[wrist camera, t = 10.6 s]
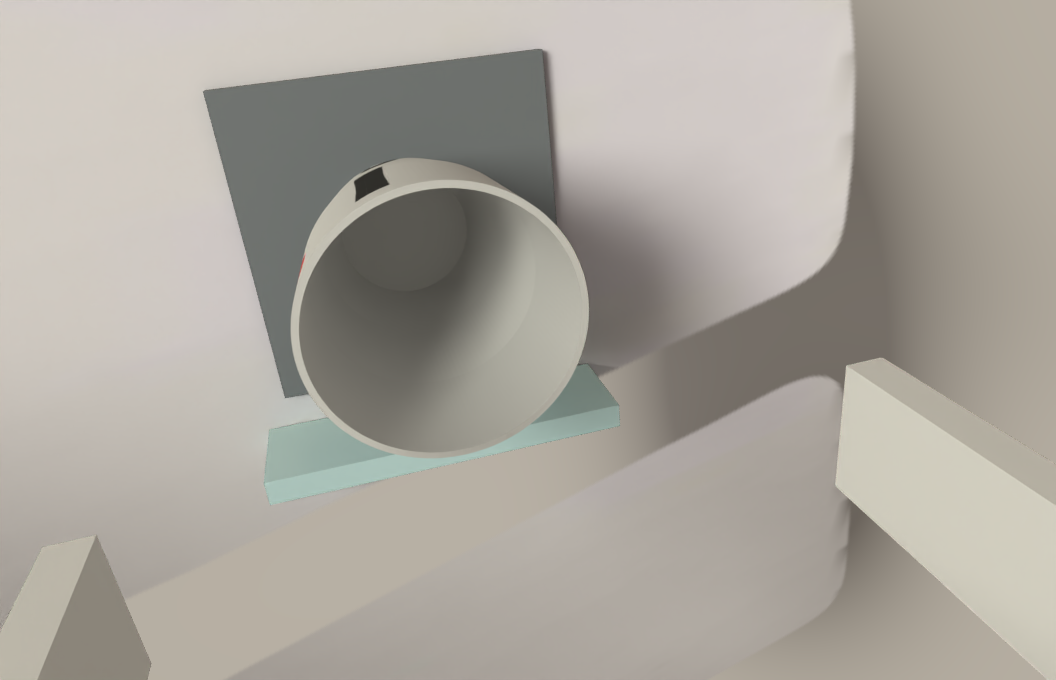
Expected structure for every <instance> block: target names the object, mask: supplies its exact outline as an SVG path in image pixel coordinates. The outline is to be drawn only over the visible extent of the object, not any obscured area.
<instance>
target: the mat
mask: <svg viewBox="0 0 1056 680" xmlns="http://www.w3.org/2000/svg"><path fill="white" fill-rule="evenodd" d="M203 93H204V97H205V101H206V104H207V108H208V112H209V116H210V119H211V123H212V127H213V131H214V134H215V138H216V142H217V145H218V149H219V153H220V157H221V160H222V164H223V168H224V172H225V175H226V179H227V183H228V187H229V190H230V194H231V198H232V201H233V205H234V209H235V213H236V216H237V220H238V224H239V228H240V231H241V235H242V239H243V242H244V246H245V250H246V254H247V257H248V261H249V265H250V269H251V272H252V276H253V280H254V284H255V287H256V291H257V295H258V298H259V302H260V306H261V310H262V313H263V317H264V321H265V325H266V328H267V332H268V336H269V340H270V343H271V347H272V351H273V354H274V358H275V362H276V366H277V369H278V373H279V377H280V381H281V384H282V388H283V392H284V396H285V398H289V397H293V396H298V395H303V394H308V391H307V389H306V387H305V385H304V383H303V381H302V379H301V377H300V375H299V372H298V369H297V366H296V363H295V359H294V355H293V350H292V343H291V313H292V306H293V300H294V296H295V291H296V287H297V283H298V278H299V274H300V269H301V265H302V261H303V256H304V252H305V248H306V245H307V242H308V239H309V236H310V234H311V232H312V229H313V227H314V226H315V224H316V222H317V220H318V218H319V217H320V215H321V214H322V212H323V211H324V210H325V208H326V207H327V206H328V205H329V203H330V202H331V201H332V200H333V198H334V197H335V196H336V195H337V194H338V192H339V191H340V190H341V189H342V188H343V187H344V186H345V185H346V184H347V183H348V182H349V181H350V180H351V179H353V178H354V177H355V176H357V175H358V174H359V173H361V172H363V171H364V170H366V169H368V168H370V167H372V166H374V165H377V164H380V163H382V162H386V161H390V160H394V159H401V158H423V159H431V160H440V161H447V162H452V163H456V164H460V165H463V166H466V167H469V168H471V169H474V170H476V171H478V172H480V173H482V174H484V175H486V176H487V177H489V178H491V179H492V180H494V181H495V182H497V183H499V184H500V185H502V186H503V187H505V188H507V189H508V190H510V191H511V192H513V193H515V194H516V195H518V196H519V197H521V198H523V199H524V200H526V201H527V202H529V203H530V204H532V205H533V206H535V207H536V208H538V209H539V210H540V211H541V212H543V213H544V214H545V215H546V216H547V217H548V218H549V219H550V220H551V221H552V222H553V223H554V224H555V225H556V226H557V222H556V210H555V198H554V186H553V174H552V162H551V150H550V138H549V126H548V114H547V101H546V89H545V77H544V65H543V53H542V49H534V50H526V51H518V52H510V53H502V54H494V55H486V56H478V57H470V58H462V59H454V60H446V61H437V62H429V63H421V64H413V65H405V66H397V67H389V68H381V69H373V70H365V71H357V72H349V73H341V74H333V75H325V76H316V77H308V78H300V79H292V80H284V81H276V82H268V83H260V84H252V85H244V86H236V87H228V88H220V89H212V90H204V91H203Z"/></svg>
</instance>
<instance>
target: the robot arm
mask: <svg viewBox="0 0 1056 680" xmlns="http://www.w3.org/2000/svg"><path fill="white" fill-rule="evenodd" d="M835 486H836V487H837V488H838V489H839V490H840V491H841V492H843V493H844V494H845V495H846V496H847V497H848V498H849V499H850V500H851V501H852V502H853V503H855V504H856V505H857V506H858V507H859V508H860V509H861V510H862V511H863V512H864V513H866V514H867V515H868V516H869V517H870V518H871V519H872V520H873V521H874V522H875V523H877V524H878V525H879V526H880V527H881V528H882V529H883V530H884V531H885V532H886V533H887V534H889V535H890V536H891V537H892V538H893V539H894V540H895V541H896V542H897V543H899V545H901V546H902V547H903V548H904V549H905V550H906V551H907V552H908V553H909V554H910V555H911V556H913V557H914V558H915V559H916V560H917V561H918V562H919V563H920V564H921V565H922V566H923V567H925V568H926V569H927V570H928V571H929V572H930V573H931V574H933V576H935V577H936V578H937V579H938V580H939V581H940V582H941V583H942V584H943V585H944V586H945V587H946V588H948V589H949V590H950V591H951V592H952V593H953V594H954V595H955V596H956V597H958V598H959V599H960V600H961V601H962V602H963V603H964V604H965V605H966V606H967V607H968V608H969V609H971V610H972V611H973V612H974V613H975V614H976V615H977V616H978V617H979V618H980V619H981V620H983V621H984V622H985V623H986V624H987V625H988V626H989V627H990V628H991V629H992V630H994V631H995V632H996V633H997V634H998V635H999V636H1000V637H1001V638H1002V639H1003V640H1004V641H1006V642H1007V643H1008V644H1009V645H1010V646H1011V647H1012V648H1013V649H1014V650H1016V651H1017V652H1018V653H1019V654H1020V655H1021V656H1022V657H1023V658H1024V659H1025V660H1026V661H1028V662H1029V663H1030V664H1031V665H1032V666H1033V667H1034V668H1035V669H1036V670H1037V671H1038V672H1039V673H1041V674H1042V675H1043V676H1044V677H1045V678H1046V679H1047V680H1056V464H1055V463H1053V462H1052V461H1050V460H1048V459H1047V458H1045V457H1044V456H1042V455H1040V454H1039V453H1037V452H1035V451H1034V450H1032V449H1030V448H1029V447H1027V446H1026V445H1024V444H1022V443H1021V442H1019V441H1017V440H1016V439H1014V438H1012V437H1011V436H1009V435H1008V434H1006V433H1004V432H1003V431H1001V430H1000V429H998V428H996V427H995V426H993V425H991V424H990V423H988V422H987V421H985V420H983V419H982V418H980V417H978V416H977V415H975V414H973V413H972V412H970V411H969V410H967V409H965V408H964V407H962V406H960V405H959V404H957V403H956V402H954V401H952V400H951V399H949V398H947V397H946V396H944V395H943V394H941V393H939V392H938V391H936V390H934V389H933V388H931V387H929V386H928V385H926V384H925V383H923V382H921V381H920V380H918V379H916V378H915V377H913V376H912V375H910V374H908V373H907V372H905V371H903V370H902V369H900V368H898V367H897V366H895V365H893V364H892V363H890V362H889V361H887V360H885V359H884V358H878V359H873V360H868V361H864V362H860V363H855V364H851V365H847V366H846V375H845V386H844V397H843V407H842V418H841V429H840V439H839V450H838V461H837V472H836V482H835ZM150 667H151V661H150V659H149V657H148V654H147V652H146V650H145V647H144V645H143V643H142V641H141V638H140V636H139V634H138V631H137V629H136V627H135V624H134V622H133V619H132V617H131V615H130V612H129V610H128V608H127V606H126V603H125V601H124V598H123V596H122V594H121V591H120V589H119V587H118V584H117V582H116V580H115V577H114V575H113V573H112V570H111V568H110V566H109V563H108V561H107V559H106V556H105V554H104V552H103V549H102V547H101V545H100V542H99V540H98V538H97V535H94V536H89V537H85V538H80V539H76V540H72V541H67V542H63V543H58V544H54V545H49V546H45V547H42V549H41V551H40V553H39V555H38V557H37V559H36V561H35V563H34V565H33V567H32V569H31V571H30V573H29V575H28V577H27V579H26V581H25V583H24V585H23V587H22V589H21V591H20V593H19V595H18V597H17V599H16V601H15V603H14V605H13V607H12V609H11V611H10V613H9V615H8V617H7V619H6V621H5V623H4V625H3V627H2V629H1V631H0V680H147V679H148V674H149V671H150Z"/></svg>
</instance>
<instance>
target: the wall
mask: <svg viewBox="0 0 1056 680" xmlns="http://www.w3.org/2000/svg"><path fill="white" fill-rule="evenodd" d="M618 426H620V415H619V405H618V403H617V402H616V401H615V399H614V398H613V397H612V395H611V394H610V393H609V391H608V390H607V389H606V387H605V386H604V385H603V383H602V382H601V381H600V380H599V378H598V377H597V376H596V374H595V373H594V372H593V370H592V369H591V368H590V366H589V365H588V364H584V365H579V366H577V367H576V369H575V371H574V373H573V375H572V377H571V378H570V380H569V382H568V383H567V385H566V387H565V388H564V389H563V391H562V392H561V394H560V395H559V396H558V398H557V399H556V400H555V401H554V402H553V404H552V405H551V406H550V407H549V408H548V409H547V410H546V411H545V412H544V413H543V414H542V415H541V416H540V417H539V418H537V419H536V420H535V421H534V422H533V423H531V424H530V425H529V426H527V427H526V428H525V429H523V430H522V431H520V432H519V433H517V434H515V435H514V436H512V437H510V438H508V439H507V440H505V441H503V442H500V443H498V444H496V445H494V446H491V447H489V448H486V449H483V450H480V451H477V452H473V453H470V454H465V455H460V456H455V457H446V458H414V457H407V456H401V455H396V454H392V453H388V452H385V451H382V450H379V449H376V448H374V447H371V446H369V445H367V444H365V443H363V442H361V441H359V440H357V439H355V438H354V437H352V436H350V435H349V434H347V433H346V432H344V431H343V430H342V429H340V428H339V427H338V426H337V425H336V424H334V423H333V422H332V421H331V420H330V419H329V418H324V419H319V420H314V421H310V422H305V423H300V424H295V425H290V426H286V427H281V428H276V429H271V430H269V438H268V447H267V457H266V466H265V476H264V486H265V489H266V493H267V496H268V500H269V503H270V505H273V504H278V503H282V502H286V501H291V500H295V499H300V498H304V497H308V496H313V495H317V494H322V493H326V492H331V491H335V490H339V489H344V488H348V487H353V486H357V485H361V484H366V483H370V482H375V481H379V480H384V479H388V478H392V477H397V476H401V475H406V474H410V473H414V472H419V471H423V470H427V469H432V468H436V467H441V466H445V465H450V464H454V463H459V462H463V461H467V460H471V459H476V458H481V457H485V456H490V455H494V454H498V453H503V452H507V451H512V450H515V449H520V448H525V447H529V446H534V445H538V444H542V443H547V442H551V441H556V440H560V439H564V438H569V437H573V436H577V435H582V434H587V433H591V432H595V431H600V430H604V429H609V428H613V427H618Z"/></svg>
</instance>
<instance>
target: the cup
mask: <svg viewBox="0 0 1056 680" xmlns="http://www.w3.org/2000/svg"><path fill="white" fill-rule="evenodd" d="M588 321H589V300H588V291H587V286H586V281H585V277H584V274H583V270H582V267H581V265H580V262H579V260H578V258H577V256H576V254H575V252H574V250H573V248H572V246H571V245H570V243H569V241H568V240H567V238H566V237H565V236H564V234H563V233H562V232H561V230H560V229H559V228H558V227H557V226H556V225H555V224H554V223H553V222H552V221H551V220H550V219H549V218H548V217H547V216H546V215H545V214H544V213H543V212H541V211H540V210H539V209H538V208H536V207H535V206H533V205H532V204H530V203H529V202H527V201H526V200H524V199H523V198H521V197H519V196H518V195H516V194H515V193H513V192H511V191H510V190H508V189H507V188H505V187H503V186H502V185H500V184H499V183H497V182H495V181H494V180H492V179H491V178H489V177H487V176H486V175H484V174H482V173H480V172H478V171H476V170H474V169H471V168H469V167H466V166H463V165H460V164H456V163H452V162H447V161H440V160H431V159H423V158H401V159H394V160H390V161H386V162H382V163H380V164H377V165H374V166H372V167H370V168H368V169H366V170H364V171H363V172H361V173H359V174H358V175H357V176H355V177H354V178H353V179H351V180H350V181H349V182H348V183H347V184H346V185H345V186H344V187H343V188H342V189H341V190H340V191H339V192H338V194H337V195H336V196H335V197H334V198H333V200H332V201H331V202H330V203H329V205H328V206H327V207H326V208H325V210H324V211H323V212H322V214H321V215H320V217H319V218H318V220H317V222H316V224H315V226H314V227H313V229H312V232H311V234H310V236H309V239H308V242H307V245H306V248H305V252H304V256H303V261H302V265H301V269H300V274H299V278H298V283H297V287H296V291H295V296H294V300H293V306H292V313H291V343H292V350H293V355H294V359H295V363H296V366H297V369H298V372H299V375H300V377H301V379H302V381H303V383H304V385H305V387H306V389H307V391H308V393H309V394H310V396H311V397H312V399H313V400H314V402H315V403H316V404H317V406H318V407H319V408H320V409H321V411H322V412H323V413H324V414H325V415H326V416H327V417H328V418H329V419H330V420H331V421H332V422H333V423H334V424H336V425H337V426H338V427H339V428H340V429H342V430H343V431H344V432H346V433H347V434H349V435H350V436H352V437H354V438H355V439H357V440H359V441H361V442H363V443H365V444H367V445H369V446H371V447H374V448H376V449H379V450H382V451H385V452H388V453H392V454H396V455H401V456H407V457H414V458H446V457H455V456H460V455H465V454H470V453H473V452H477V451H480V450H483V449H486V448H489V447H491V446H494V445H496V444H498V443H500V442H503V441H505V440H507V439H508V438H510V437H512V436H514V435H515V434H517V433H519V432H520V431H522V430H523V429H525V428H526V427H527V426H529V425H530V424H531V423H533V422H534V421H535V420H536V419H537V418H539V417H540V416H541V415H542V414H543V413H544V412H545V411H546V410H547V409H548V408H549V407H550V406H551V405H552V404H553V402H554V401H555V400H556V399H557V398H558V396H559V395H560V394H561V392H562V391H563V389H564V388H565V387H566V385H567V383H568V382H569V380H570V378H571V377H572V375H573V373H574V371H575V369H576V367H577V364H578V362H579V360H580V357H581V354H582V351H583V348H584V344H585V340H586V336H587V330H588Z"/></svg>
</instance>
